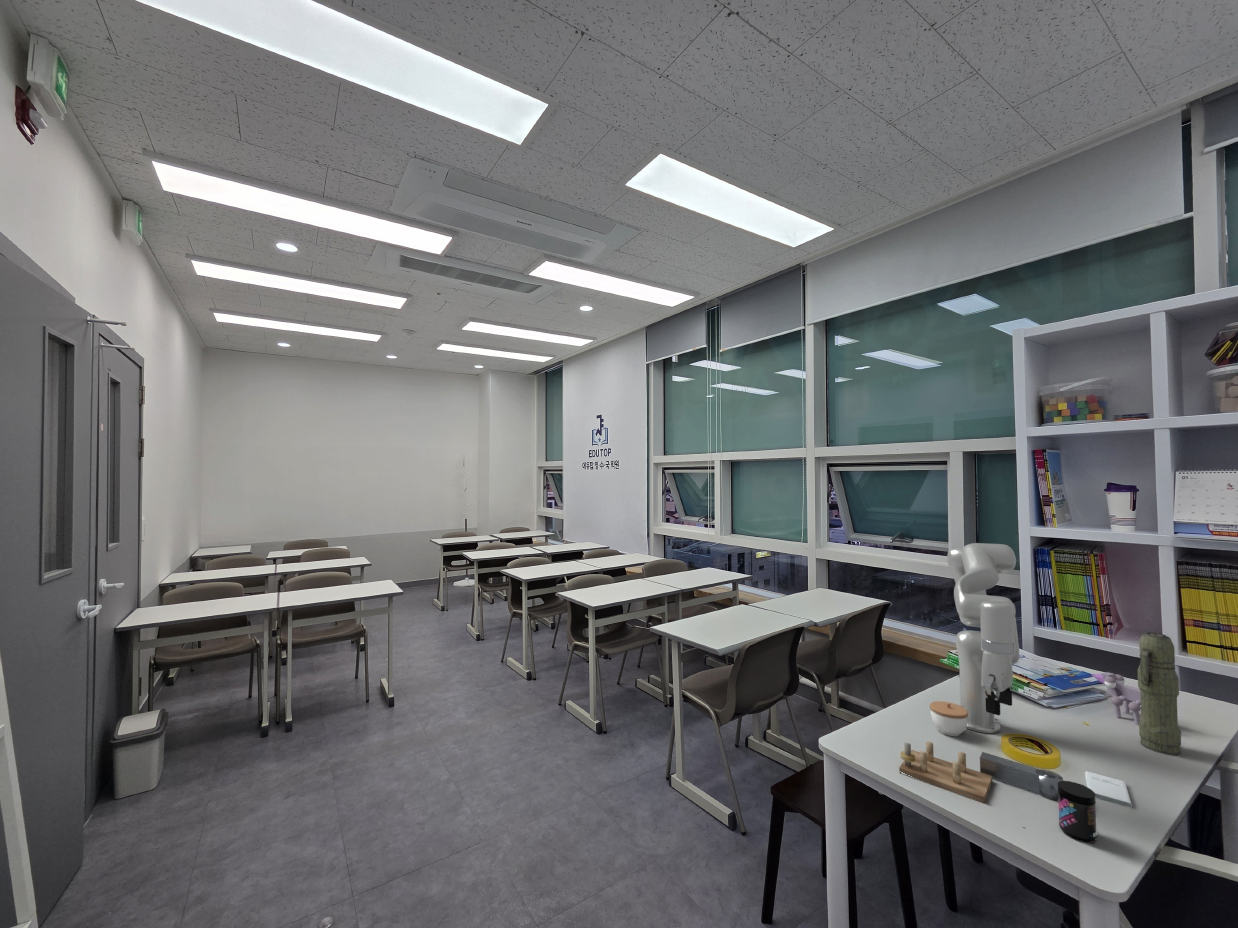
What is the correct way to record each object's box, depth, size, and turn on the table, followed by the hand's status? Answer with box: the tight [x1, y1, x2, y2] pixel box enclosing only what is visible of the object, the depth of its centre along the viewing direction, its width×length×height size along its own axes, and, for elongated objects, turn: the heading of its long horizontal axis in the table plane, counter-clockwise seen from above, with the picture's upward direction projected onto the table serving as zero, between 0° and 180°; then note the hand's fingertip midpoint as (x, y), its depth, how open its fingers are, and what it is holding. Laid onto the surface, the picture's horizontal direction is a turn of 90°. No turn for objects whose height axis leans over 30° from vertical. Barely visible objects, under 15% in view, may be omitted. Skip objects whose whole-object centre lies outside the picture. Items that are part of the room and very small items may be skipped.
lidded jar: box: [929, 700, 968, 737], centre depth 170 cm, size 11×11×9 cm
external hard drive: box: [1084, 771, 1133, 809], centre depth 138 cm, size 2×8×12 cm
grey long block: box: [979, 751, 1064, 802], centre depth 140 cm, size 6×18×5 cm, turn 46°
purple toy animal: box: [1091, 671, 1141, 725], centre depth 180 cm, size 20×11×14 cm, turn 21°
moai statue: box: [1137, 631, 1182, 756], centre depth 159 cm, size 9×12×35 cm
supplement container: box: [1057, 780, 1098, 843], centre depth 121 cm, size 7×7×10 cm
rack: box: [898, 741, 993, 804], centre depth 144 cm, size 13×20×8 cm, turn 46°
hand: (999, 708), depth 142 cm, fingers open, 9 cm apart
